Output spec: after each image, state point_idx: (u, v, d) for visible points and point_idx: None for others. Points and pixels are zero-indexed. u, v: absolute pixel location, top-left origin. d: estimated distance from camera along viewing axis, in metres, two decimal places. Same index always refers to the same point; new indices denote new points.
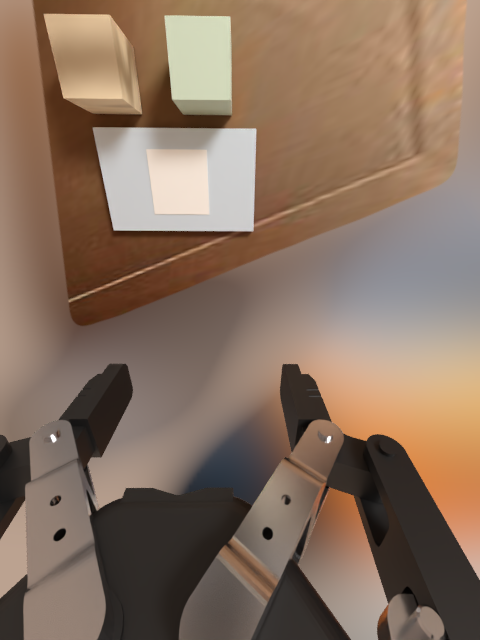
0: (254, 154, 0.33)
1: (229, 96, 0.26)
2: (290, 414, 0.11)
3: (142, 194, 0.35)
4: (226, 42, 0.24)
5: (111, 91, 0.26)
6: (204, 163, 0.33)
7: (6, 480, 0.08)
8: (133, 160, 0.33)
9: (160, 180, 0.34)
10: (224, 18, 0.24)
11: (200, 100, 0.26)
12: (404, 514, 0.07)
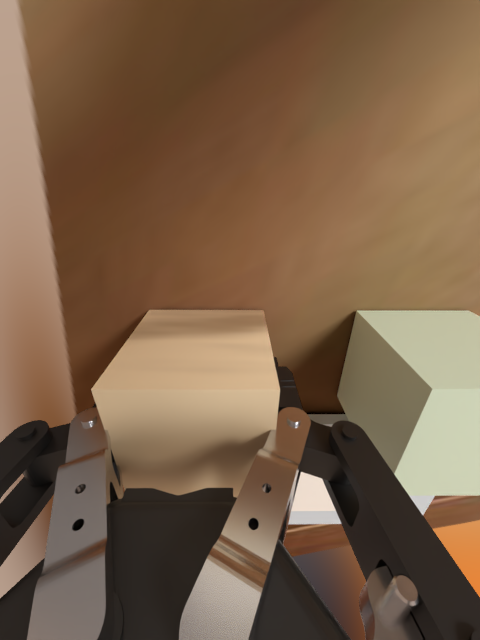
0: None
1: None
2: None
3: None
4: None
5: None
6: None
7: (44, 466, 0.09)
8: None
9: None
10: None
11: None
12: (371, 492, 0.07)
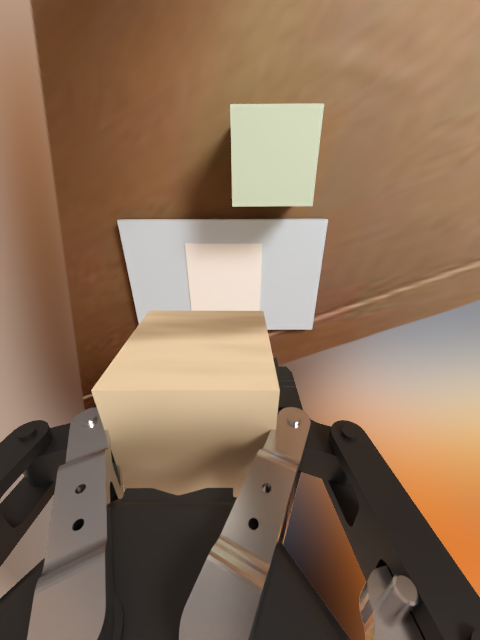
0: (322, 247, 0.26)
1: (311, 201, 0.19)
2: None
3: (177, 292, 0.28)
4: (314, 136, 0.17)
5: None
6: (257, 258, 0.26)
7: (44, 466, 0.09)
8: (167, 255, 0.26)
9: (201, 277, 0.27)
10: (315, 106, 0.16)
11: None
12: (371, 492, 0.07)
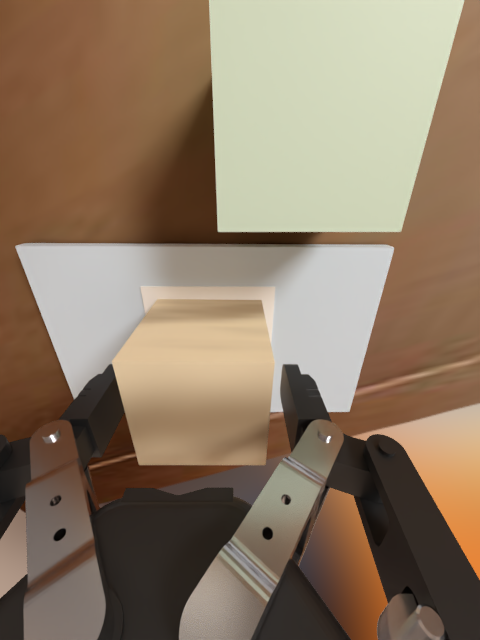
0: (379, 294, 0.15)
1: (399, 222, 0.08)
2: (290, 414, 0.11)
3: None
4: (434, 53, 0.06)
5: (244, 457, 0.12)
6: (267, 310, 0.15)
7: (6, 480, 0.08)
8: (111, 305, 0.15)
9: None
10: None
11: None
12: (404, 514, 0.07)
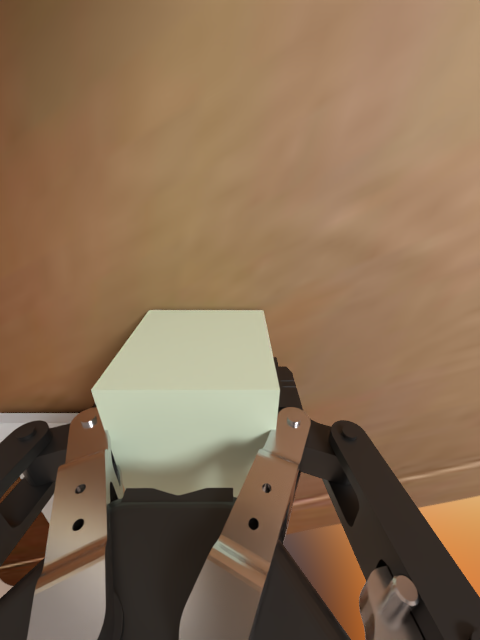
0: None
1: None
2: None
3: None
4: (265, 427, 0.09)
5: None
6: None
7: (44, 466, 0.09)
8: None
9: None
10: (263, 393, 0.08)
11: None
12: (371, 492, 0.07)
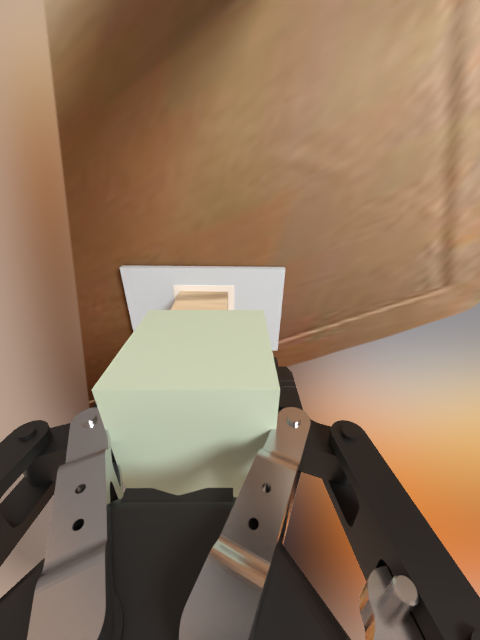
0: (282, 289, 0.32)
1: None
2: None
3: None
4: (265, 426, 0.09)
5: None
6: (231, 296, 0.33)
7: (44, 466, 0.09)
8: (159, 293, 0.33)
9: None
10: (263, 392, 0.08)
11: None
12: (371, 492, 0.07)
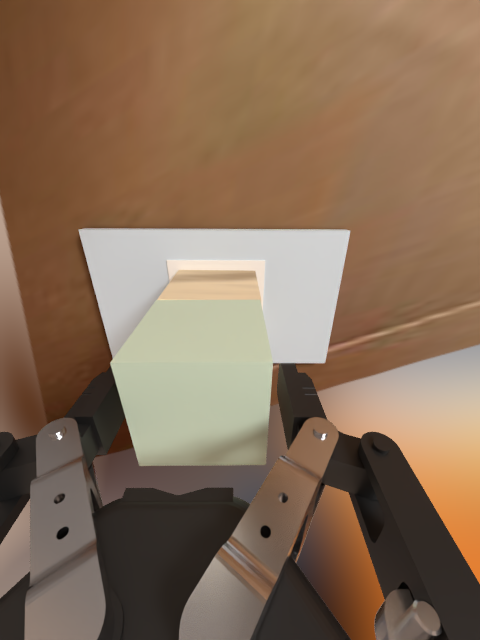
0: (341, 266, 0.20)
1: (263, 461, 0.12)
2: (286, 412, 0.11)
3: None
4: (260, 397, 0.10)
5: None
6: (259, 279, 0.20)
7: (12, 477, 0.08)
8: (145, 274, 0.20)
9: None
10: (258, 365, 0.10)
11: None
12: (399, 510, 0.07)
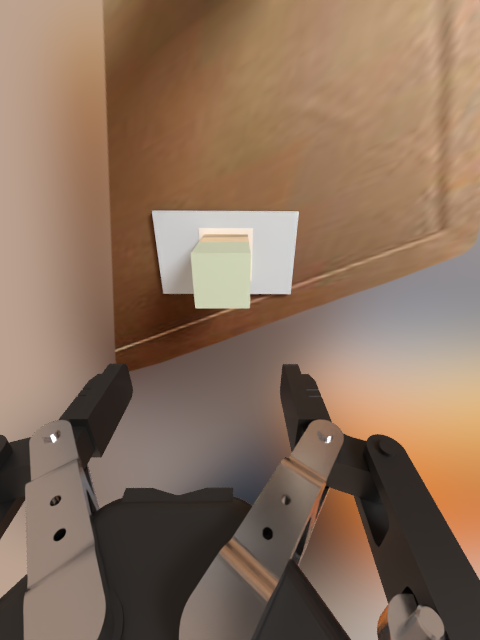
0: (295, 232, 0.36)
1: (248, 305, 0.28)
2: (290, 414, 0.11)
3: None
4: (246, 270, 0.26)
5: None
6: (250, 239, 0.37)
7: (6, 480, 0.08)
8: (185, 236, 0.36)
9: None
10: (245, 254, 0.26)
11: None
12: (404, 514, 0.07)
